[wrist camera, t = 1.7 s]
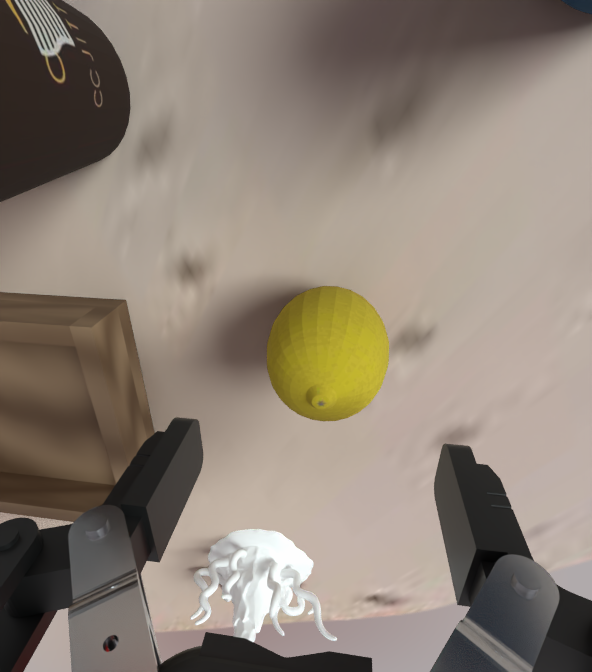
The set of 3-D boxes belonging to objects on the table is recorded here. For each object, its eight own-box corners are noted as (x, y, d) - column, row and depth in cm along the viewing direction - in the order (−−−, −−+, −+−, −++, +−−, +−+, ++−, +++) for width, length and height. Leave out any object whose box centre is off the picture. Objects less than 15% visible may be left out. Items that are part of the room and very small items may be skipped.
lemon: (294, 361, 24) (268, 461, 17) (272, 273, 21) (231, 349, 14) (389, 350, 23) (403, 453, 16) (377, 255, 20) (387, 328, 13)
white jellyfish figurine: (180, 553, 35) (127, 684, 27) (283, 505, 30) (255, 647, 22) (249, 605, 38) (219, 739, 30) (353, 569, 33) (351, 717, 25)
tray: (-115, 285, 25) (-180, 308, 22) (126, 300, 23) (91, 327, 20) (-20, 468, 33) (-59, 504, 30) (166, 490, 31) (145, 531, 28)
